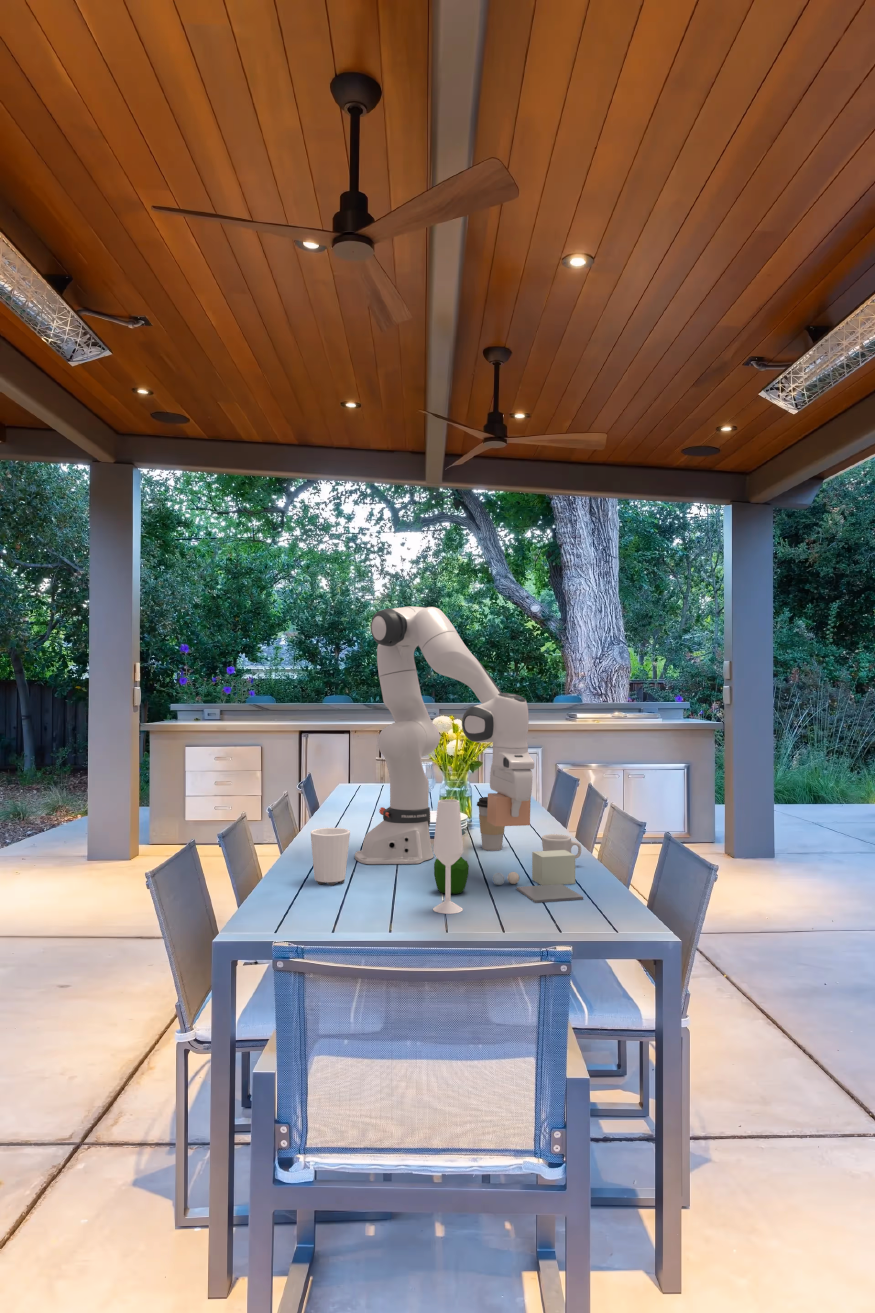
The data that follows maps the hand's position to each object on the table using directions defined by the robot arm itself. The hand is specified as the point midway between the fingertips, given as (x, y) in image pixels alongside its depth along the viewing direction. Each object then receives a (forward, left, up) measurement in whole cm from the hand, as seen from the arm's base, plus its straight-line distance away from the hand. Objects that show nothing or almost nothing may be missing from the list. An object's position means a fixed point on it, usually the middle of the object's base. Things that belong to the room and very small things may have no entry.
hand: (508, 813), depth 204 cm
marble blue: (-2, 0, -17) cm, 17 cm away
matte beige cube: (+12, 0, -18) cm, 21 cm away
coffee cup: (+10, +41, -18) cm, 46 cm away
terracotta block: (0, 0, -3) cm, 2 cm away
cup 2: (+21, +15, -18) cm, 31 cm away
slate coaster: (+6, -11, -18) cm, 22 cm away
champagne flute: (-21, -17, -18) cm, 32 cm away
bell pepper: (-16, -3, -18) cm, 24 cm away
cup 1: (-43, +13, -18) cm, 48 cm away
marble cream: (+2, 0, -18) cm, 18 cm away
